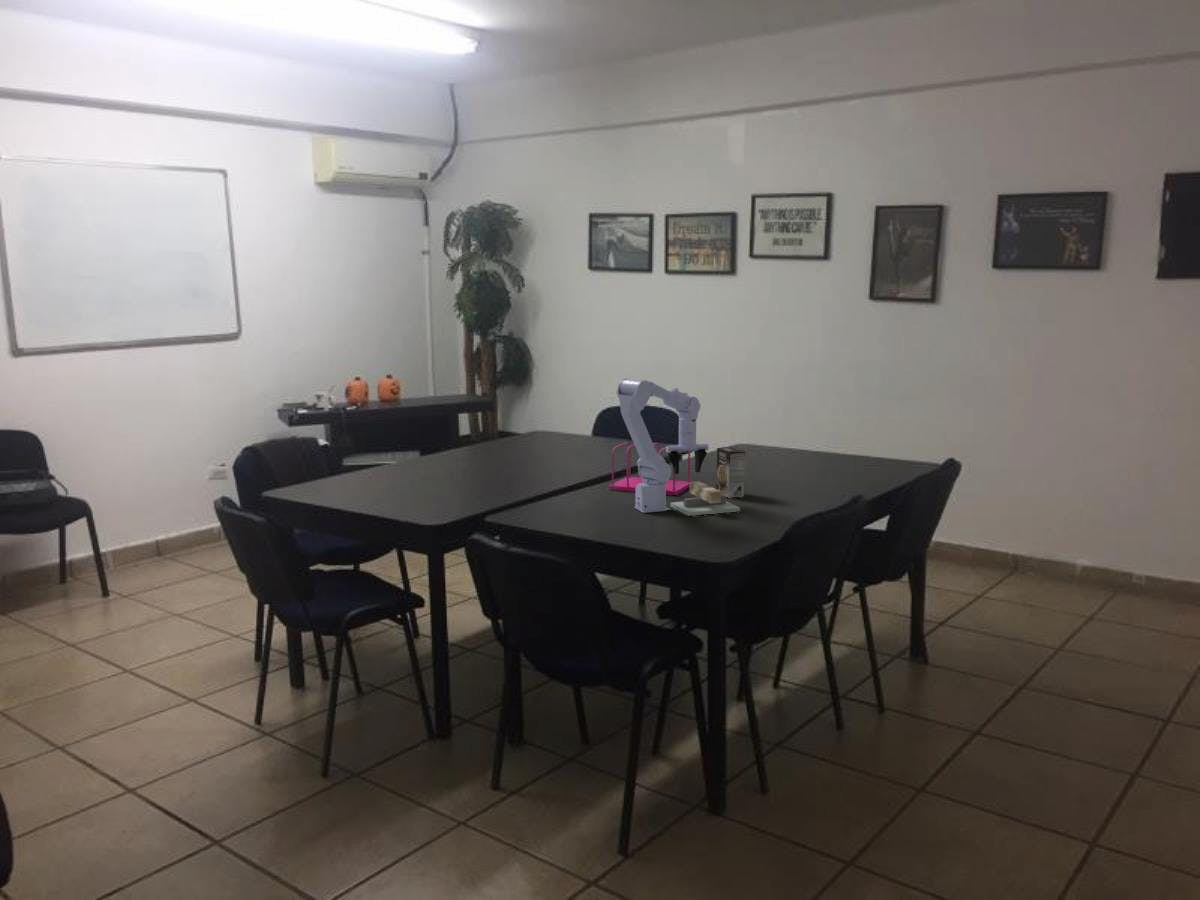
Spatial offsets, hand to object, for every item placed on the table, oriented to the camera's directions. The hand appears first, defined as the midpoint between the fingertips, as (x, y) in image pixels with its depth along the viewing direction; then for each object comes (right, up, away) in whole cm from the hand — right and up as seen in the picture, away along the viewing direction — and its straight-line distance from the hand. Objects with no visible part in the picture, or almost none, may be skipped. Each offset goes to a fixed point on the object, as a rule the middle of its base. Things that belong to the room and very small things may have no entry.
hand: (687, 472), depth 319 cm
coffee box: (+16, -8, +11) cm, 21 cm away
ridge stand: (+5, -12, -9) cm, 16 cm away
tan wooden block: (+5, -8, -10) cm, 13 cm away
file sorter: (-11, -6, +23) cm, 26 cm away
